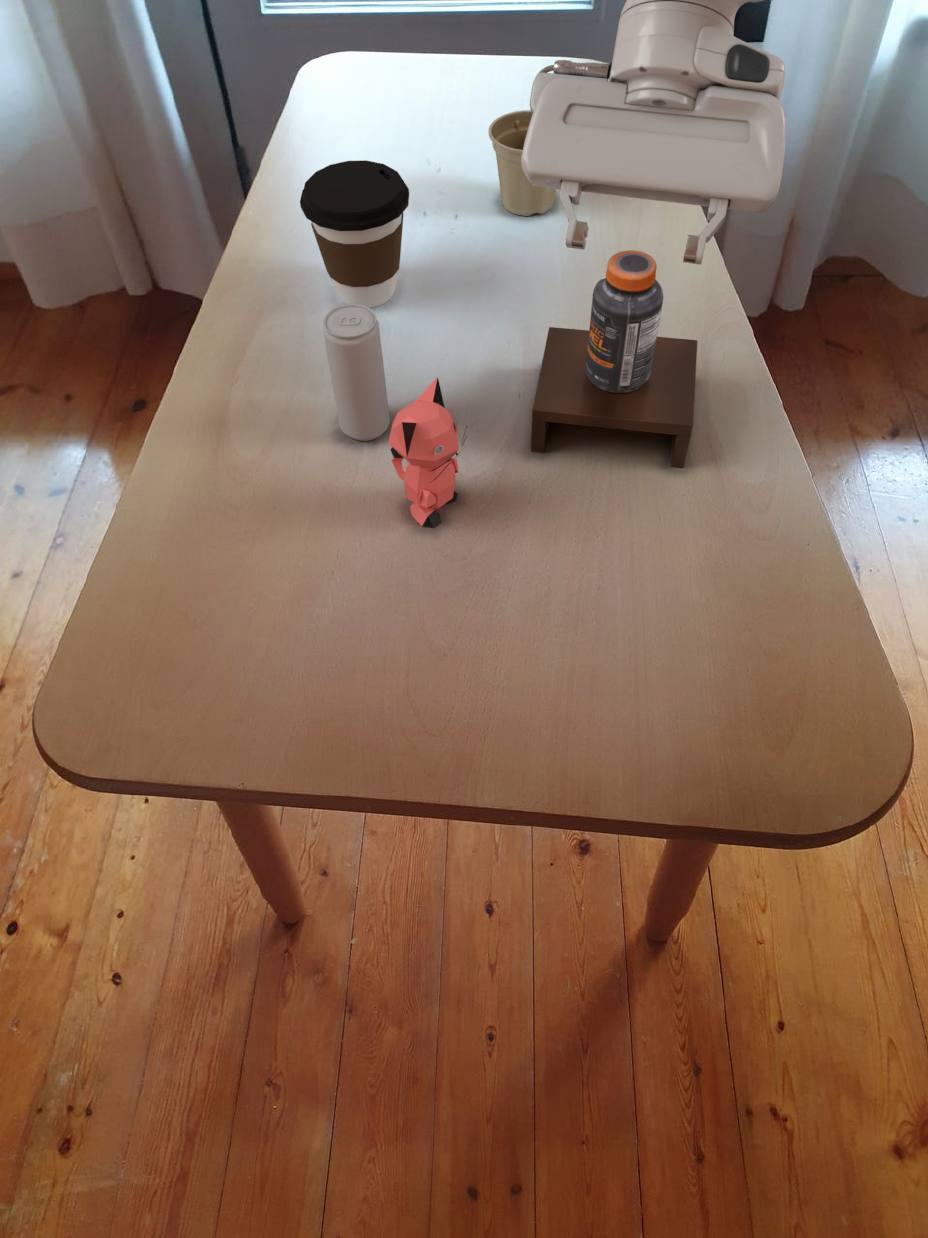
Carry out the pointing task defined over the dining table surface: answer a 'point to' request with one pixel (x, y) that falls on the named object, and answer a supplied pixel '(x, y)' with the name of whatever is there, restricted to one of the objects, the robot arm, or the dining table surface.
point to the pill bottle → (624, 323)
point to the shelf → (644, 409)
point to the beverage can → (357, 371)
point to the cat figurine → (426, 454)
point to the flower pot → (517, 166)
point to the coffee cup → (358, 227)
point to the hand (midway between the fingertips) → (632, 254)
